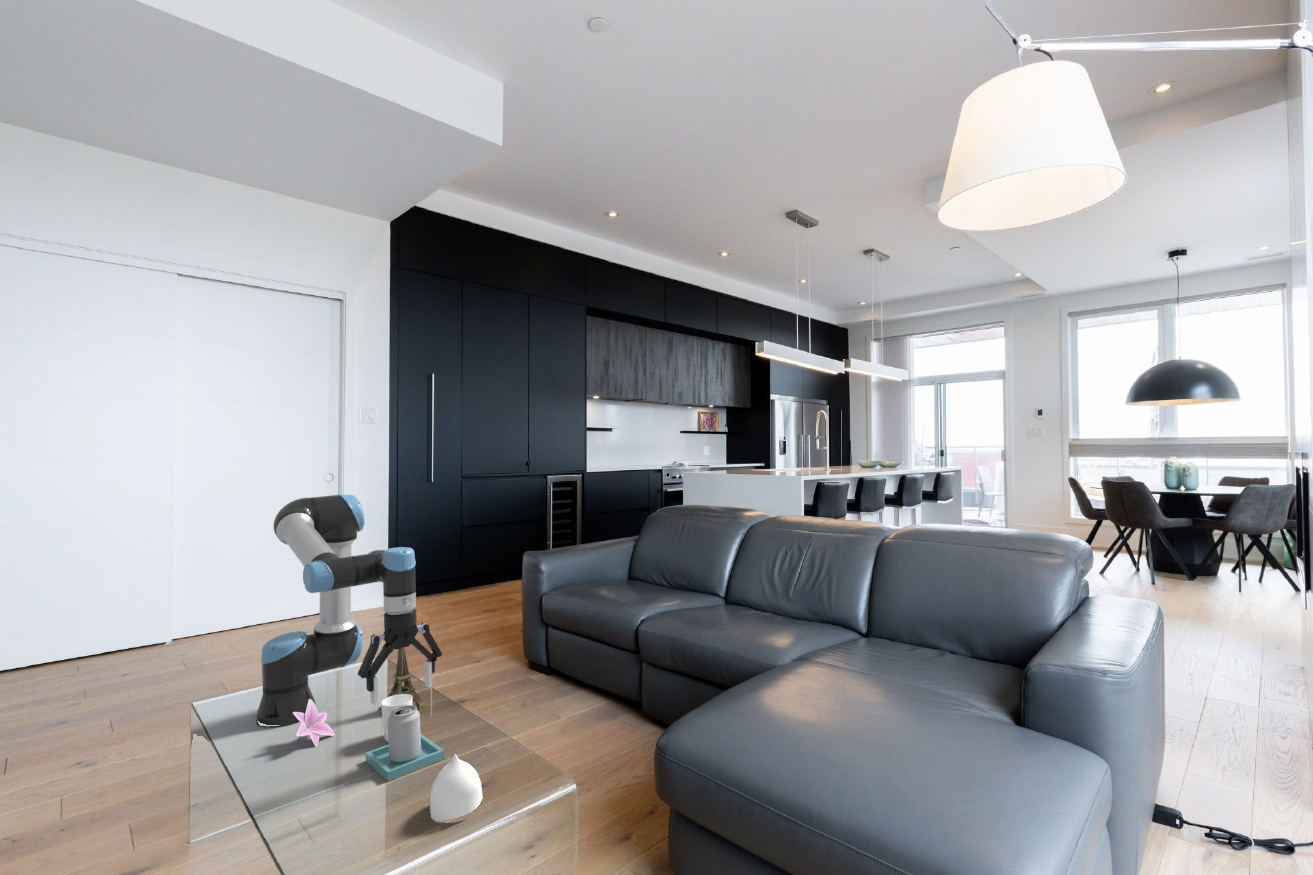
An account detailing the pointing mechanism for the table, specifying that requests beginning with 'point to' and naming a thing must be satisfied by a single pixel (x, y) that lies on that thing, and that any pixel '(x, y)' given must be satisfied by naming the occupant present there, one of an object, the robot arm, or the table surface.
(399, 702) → the white cup
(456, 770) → the teardrop
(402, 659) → the eiffel tower
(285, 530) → the robot arm
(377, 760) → the tray
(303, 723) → the lily
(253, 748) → the table surface
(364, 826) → the table surface
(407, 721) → the can
